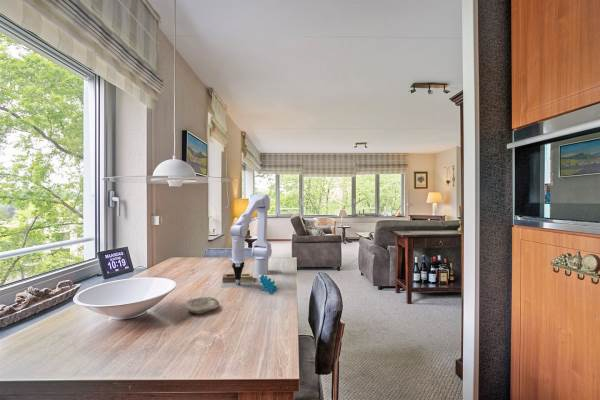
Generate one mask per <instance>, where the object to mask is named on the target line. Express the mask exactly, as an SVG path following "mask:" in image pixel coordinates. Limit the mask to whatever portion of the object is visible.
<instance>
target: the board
mask: <svg viewBox="0 0 600 400" xmlns="http://www.w3.org/2000/svg"><path fill="white" fill-rule="evenodd" d="M254 281H255V279H254V276H253V282H241V285H239V286H236V285H235V282H232V283H223V282H222V284H221V288H243V287H244V288H245V287H246V288H247V287H255V282H254Z"/></svg>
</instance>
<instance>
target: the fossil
mask: <svg viewBox="0 0 600 400" xmlns="http://www.w3.org/2000/svg"><path fill="white" fill-rule="evenodd" d="M219 306H220V302H219V301H218V300H217V298H214V297H209V296H206V297H197V298H191V299H189V300H187V301H186V302H185V307H186V310H188V311H189V312H191V313H192V314H197V315H201V314H205V313H207V312H210V311H211V310H212V311H213V310H217V309H218V308H219Z"/></svg>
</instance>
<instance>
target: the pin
mask: <svg viewBox="0 0 600 400" xmlns="http://www.w3.org/2000/svg"><path fill="white" fill-rule="evenodd" d="M235 285H236V286H239V285H241V279H240V280H236V281H235Z"/></svg>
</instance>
